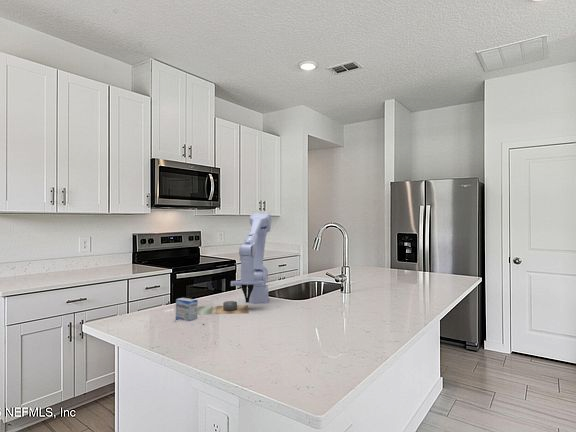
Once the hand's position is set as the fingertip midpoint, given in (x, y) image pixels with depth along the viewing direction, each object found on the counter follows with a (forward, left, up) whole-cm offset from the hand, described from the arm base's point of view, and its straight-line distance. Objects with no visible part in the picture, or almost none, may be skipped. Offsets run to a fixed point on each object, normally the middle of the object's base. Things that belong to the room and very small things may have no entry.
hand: (247, 302), depth 167 cm
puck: (+7, 0, -3) cm, 8 cm away
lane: (+13, 0, -4) cm, 14 cm away
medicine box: (+24, +12, -4) cm, 28 cm away
